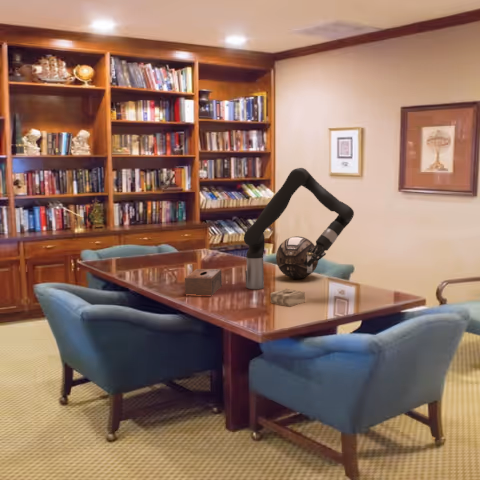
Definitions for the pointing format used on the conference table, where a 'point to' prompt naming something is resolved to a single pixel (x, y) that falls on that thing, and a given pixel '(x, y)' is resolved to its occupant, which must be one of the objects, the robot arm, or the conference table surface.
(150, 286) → the conference table surface
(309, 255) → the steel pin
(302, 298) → the maple hitch block
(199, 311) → the conference table surface
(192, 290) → the tissue box cover
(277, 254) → the sphere
